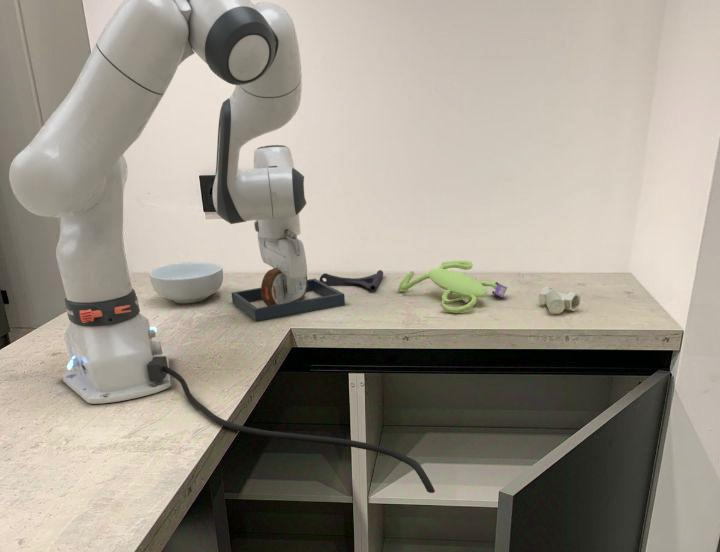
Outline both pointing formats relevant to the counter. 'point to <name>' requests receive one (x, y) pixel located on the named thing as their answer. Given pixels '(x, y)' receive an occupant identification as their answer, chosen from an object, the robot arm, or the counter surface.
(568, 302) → the pipe fitting
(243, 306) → the tray
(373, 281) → the bracket
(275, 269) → the tin
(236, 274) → the counter surface
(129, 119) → the robot arm
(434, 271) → the figurine
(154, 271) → the cereal bowl
